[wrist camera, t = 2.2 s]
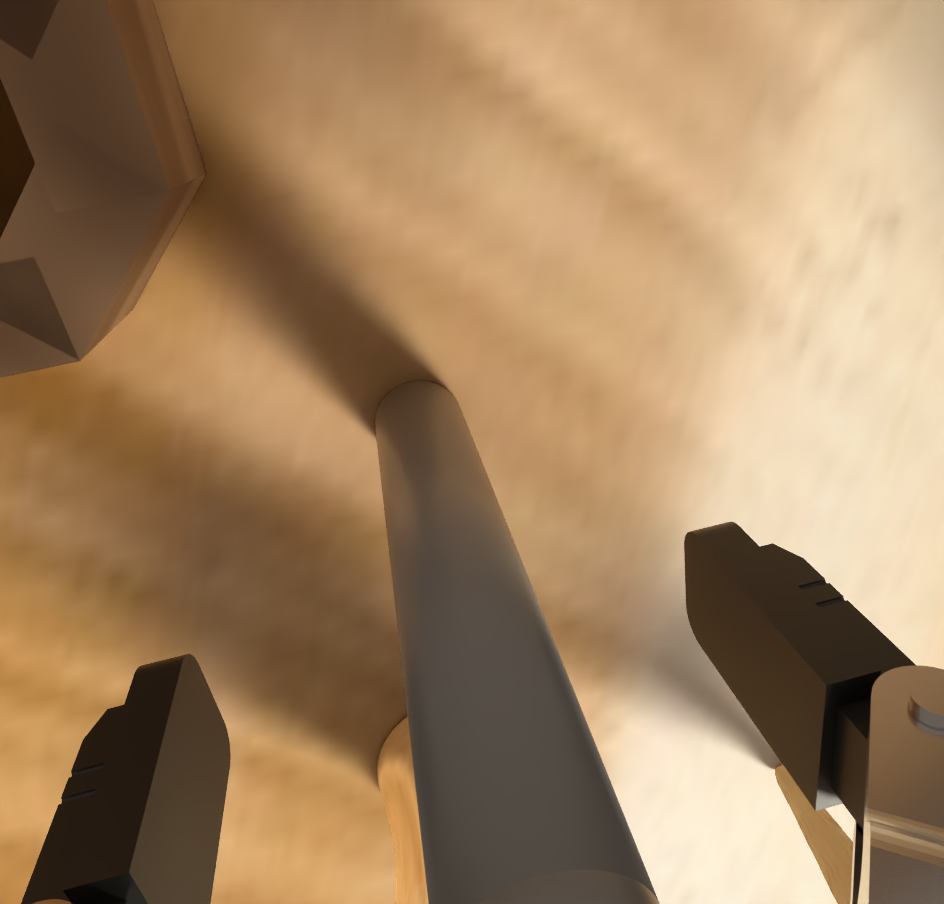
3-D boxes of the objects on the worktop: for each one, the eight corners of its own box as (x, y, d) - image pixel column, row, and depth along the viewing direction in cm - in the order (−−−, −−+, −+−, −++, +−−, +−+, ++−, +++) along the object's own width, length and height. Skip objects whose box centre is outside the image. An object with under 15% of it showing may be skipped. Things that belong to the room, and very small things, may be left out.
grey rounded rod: (453, 372, 19) (714, 976, 6) (468, 450, 21) (717, 1113, 7) (366, 391, 19) (428, 1057, 6) (385, 469, 20) (477, 1186, 7)
